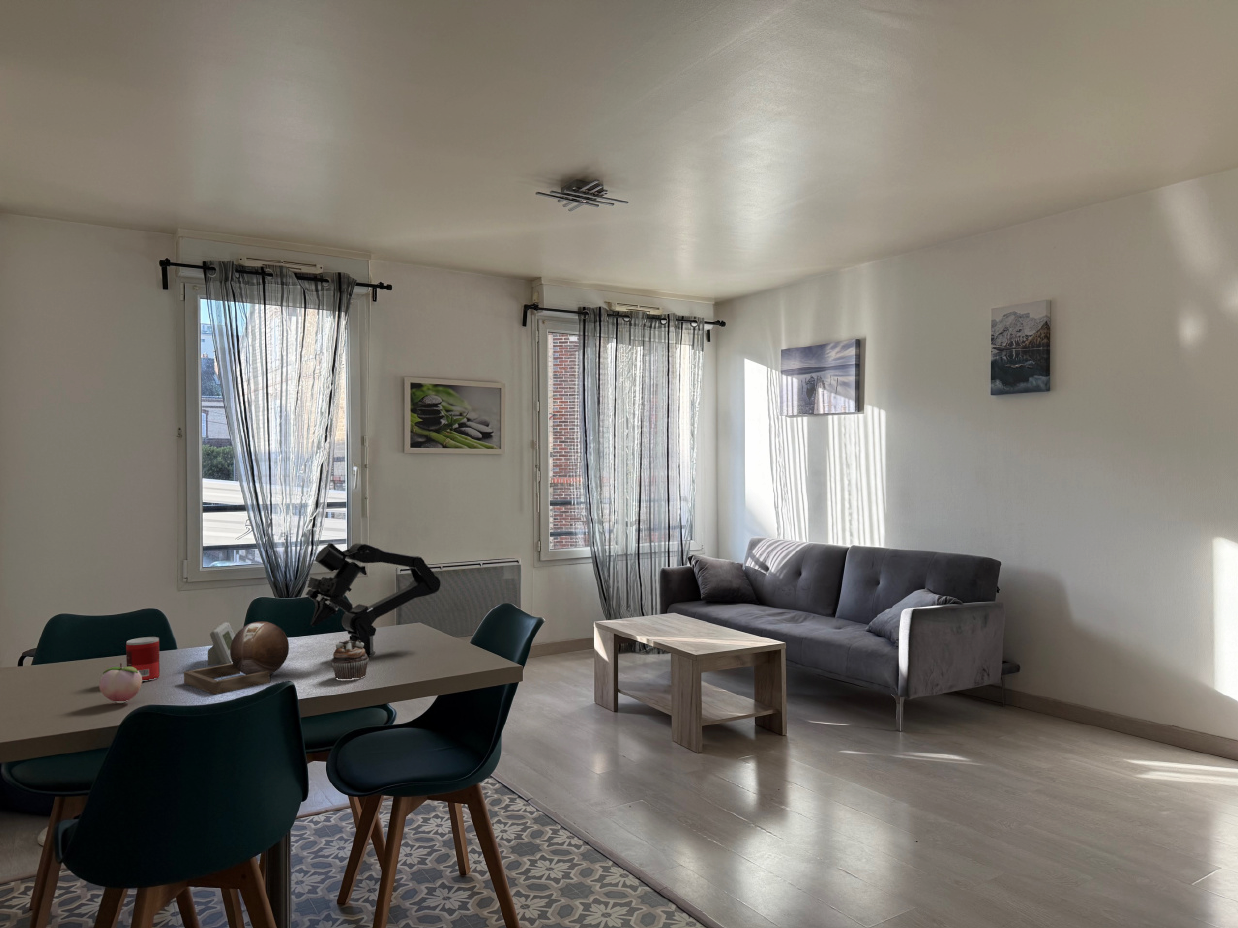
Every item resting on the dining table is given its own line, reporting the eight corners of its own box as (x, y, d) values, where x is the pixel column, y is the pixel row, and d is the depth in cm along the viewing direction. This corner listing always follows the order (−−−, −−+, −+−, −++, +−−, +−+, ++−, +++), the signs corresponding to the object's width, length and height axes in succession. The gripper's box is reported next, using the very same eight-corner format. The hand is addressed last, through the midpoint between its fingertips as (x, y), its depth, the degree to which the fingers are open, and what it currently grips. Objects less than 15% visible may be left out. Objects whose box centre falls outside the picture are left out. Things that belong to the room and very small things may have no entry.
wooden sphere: (224, 684, 229) (223, 628, 229) (237, 671, 243) (236, 618, 243) (284, 680, 232) (283, 625, 232) (293, 668, 246) (292, 615, 246)
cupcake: (324, 680, 231) (323, 643, 231) (348, 672, 240) (347, 636, 240) (353, 683, 227) (352, 645, 227) (376, 674, 236) (375, 638, 236)
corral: (237, 672, 242) (237, 661, 242) (269, 682, 230) (269, 671, 230) (184, 683, 232) (183, 671, 232) (214, 694, 219) (214, 682, 219)
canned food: (166, 676, 239) (165, 637, 239) (141, 684, 232) (140, 643, 232) (145, 675, 242) (144, 636, 242) (120, 682, 234) (119, 641, 234)
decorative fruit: (150, 698, 217) (149, 658, 217) (132, 707, 208) (131, 665, 208) (112, 699, 216) (111, 659, 216) (93, 708, 208) (92, 667, 208)
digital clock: (228, 666, 250) (227, 630, 250) (197, 667, 250) (196, 631, 250) (251, 654, 266) (250, 620, 266) (221, 655, 266) (221, 621, 266)
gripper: (308, 562, 259) (276, 607, 253) (338, 569, 246) (306, 617, 240) (335, 581, 266) (305, 625, 259) (366, 589, 253) (335, 636, 246)
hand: (312, 625), depth 251 cm, fingers closed
